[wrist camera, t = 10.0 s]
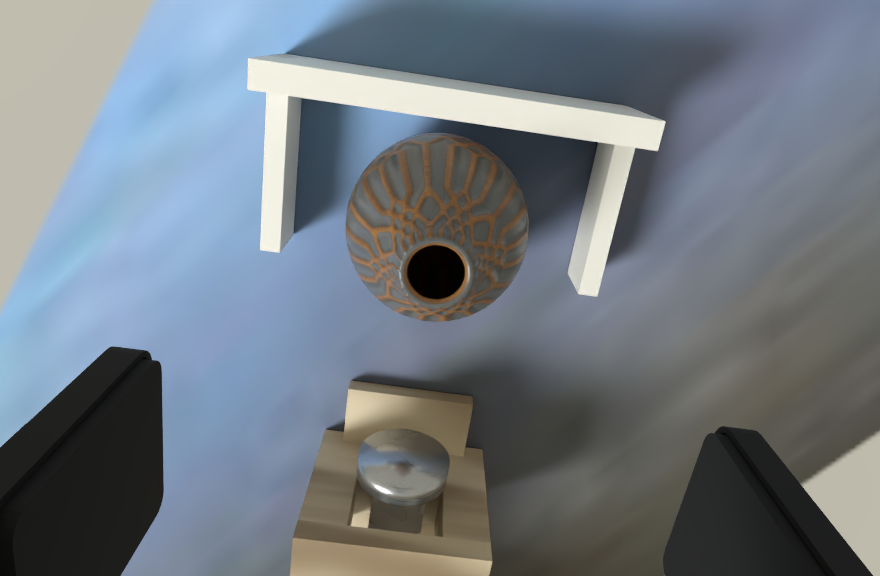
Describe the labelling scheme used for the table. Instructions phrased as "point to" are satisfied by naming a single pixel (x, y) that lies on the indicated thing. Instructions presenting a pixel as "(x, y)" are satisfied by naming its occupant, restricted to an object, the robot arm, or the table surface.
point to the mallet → (401, 477)
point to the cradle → (457, 102)
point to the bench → (348, 505)
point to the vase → (437, 227)
